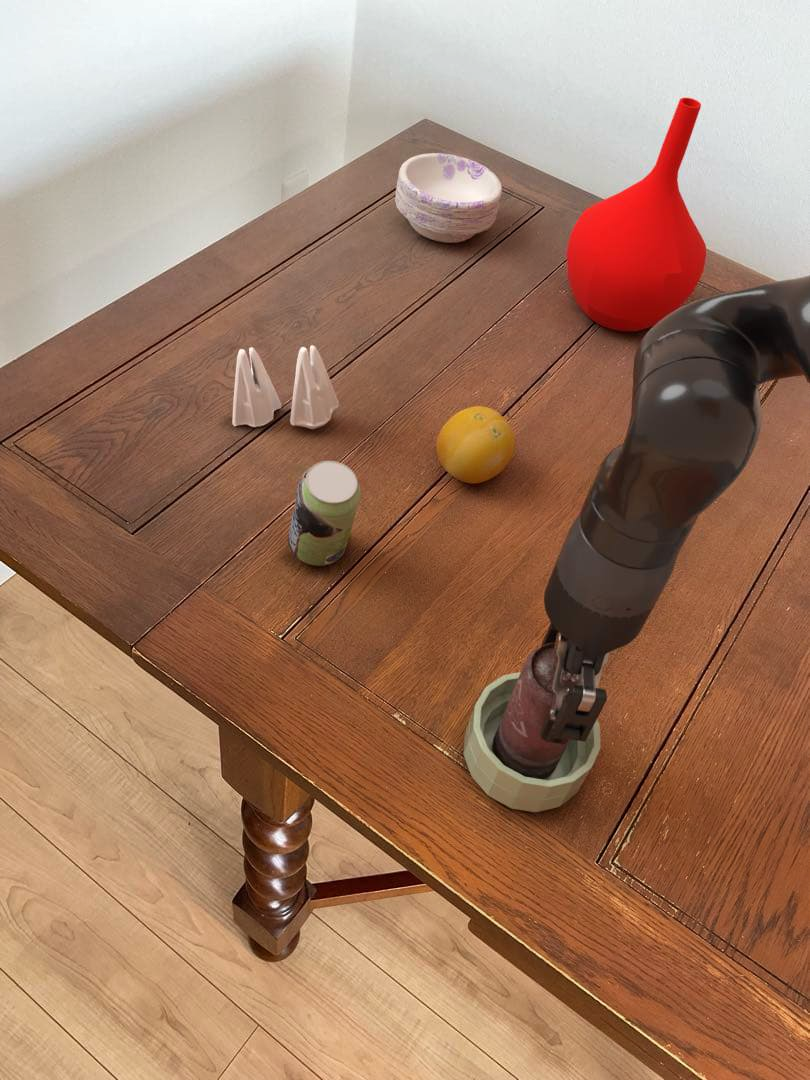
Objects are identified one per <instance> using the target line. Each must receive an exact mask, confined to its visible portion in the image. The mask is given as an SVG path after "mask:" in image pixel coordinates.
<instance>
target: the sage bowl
mask: <svg viewBox="0 0 810 1080" xmlns="http://www.w3.org/2000/svg"><path fill="white" fill-rule="evenodd" d="M520 673H521V671H518V672H513V673H508V674H503V675H501V676H500V677H499V678H497V679H495V680H494V681H492V682H491V683H490V684H488V685H487V686H485V687H484V689H483V690H482V692H481V694H480V696H479V697H478V699H477V701H476V702H475V704H474V707H473V710H472V712H471V715H470V718H469V721H468V723H467V725H466V729H465V731H464V738H463V757H464V760H465V763H466V765H467V768H468V770H469V773H470V776H471V778H472V779H473V780H474V782H475V783H476V784H477V785H478V786H479V787H480V788H481V789H482V791H483V792H484V793H485V795H486V796H488V797H490V798H492V799H493V800H495V801H497V802H499V803H501V804H503V805H504V806H506V807H507V808H509V809H512V810H518V811H524V812H531V813H540V812H543V811H548V810H552V809H556V808H560V807H562V806H563V804H565V803H566V802H567V801H569V800H570V799H571V798H573V797H574V796H575V795H576V794H577V793H578V792H579V791H580V788H581V787H582V785H583V784H584V782H585V780H586V778H587V777H588V775H589V774H590V771H591V770H592V768H593V766H594V764H595V762H596V759H597V758H598V756H599V753H600V751H601V725H600V723H599V721H598V719H597V720H596V722H595V724H594V726H593V728H592V730H591V732H590V734H589V735H588V737H587V739H586V741H585V742H584V741H578V740H570V742H569V744H568V746H567V748H566V750H565V752H564V754H563V755H562V757H561V759H560V761H559V763H558V765H557V767H556V768H555V770H554V772H553V773H552V774H551V775H550V776H548V777H547V778H545V779H543V780H542V779H536V778H530V777H525V776H523V775H521V774H519V773H517V772H515V771H514V770H512V769H510V768H508V767H506V766H504V765H503V764H502V763H501V761H500V760H499V759H498V758H497V757H496V756H495V755H494V754H493V750H492V745H493V738H494V736H495V734H496V731H497V729H498V726H499V724H500V722H501V719H502V717H503V714H504V712H505V709H506V707H507V705H508V702H509V700H510V697H511V695H512V692H513V690H514V688H515V685H516V683H517V680H518V678H519V676H520Z"/></svg>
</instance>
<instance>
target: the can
mask: <svg viewBox="0 0 810 1080" xmlns="http://www.w3.org/2000/svg"><path fill="white" fill-rule="evenodd" d="M554 646H555V643H549V644H546V645H543V646H541V645H540V647H537V648H535V650H533V651H532V652H531V653H529V654H528V656H527V658H526V660H525V661H524V664H523V666H522V668H521V671H520V672H521V673H520V676H519V678H518V680H517V683H516V685H515V688H514V690H513V692H512V695H511V697H510V700H509V702H508V705H507V707H506V709H505V712H504V714H503V717H502V719H501V722H500V724H499V726H498V729H497V731H496V734H495V736H494V738H493V745H492V750H493V754H494V755H495V756H496V757H497V758H498V759H499V760H500V761H501V763H502V764H503V765H504V766H506V767H508V768H510V769H512V770H514V771H515V772H517V773H519V774H521V775H523V776H525V777H530V778H536V779H542V780H543V779H545V778H547V777H548V776H550V775H551V774H552V773H553V772H554V770H555V768H556V767H557V765H558V763H559V761H560V759H561V757H562V755H563V754H564V752H565V750H566V748H567V746H568V744H569V742H570V740H571V739H569V740H568V742H566V744H565V745H559V744H553V743H547V742H546V741H544V740H542V739H541V728H542V726H543V724H544V722H545V720H546V718H547V716H548V714H549V711H550V709H551V706H552V701H553V697H554V692H553V689H552V687H551V684H550V680H551V675H552V671H553V666H554V661H555V657H556V652H555V650H554ZM561 679H563V680H568V681H574V682H578V679H579V674H578V675H577V674H572V673H568V672H566V671H564V670H563V672H562V677H561ZM565 697H566V695H565V696H564V697H563V700H562V703H563V701H564V699H565Z"/></svg>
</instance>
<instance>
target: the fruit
mask: <svg viewBox="0 0 810 1080" xmlns="http://www.w3.org/2000/svg"><path fill="white" fill-rule="evenodd" d="M435 447H436V449H435V450H436V455H437V458H438V461H439V463H440V465H441V466H442V468H443V469H444V470H445V471H446V473H448V474H449V475H450V476H452V477H453V478H455V479H456V480H457V481H459V482H460V481H461V482H462V483H465V484H480V483H484V482H486V481H488V480H491V479H492V478H494V477H497V475H498V474H500V473H501V472H502V471H504V469H505V468H506V467H507V466H508V464H509V463H510V461H511V460H512V458H513V455H514V453H515V449H516V434H515V431H514V429H513V427H512V425H511V424H510V423H509V421H508V420H507V419H506V418H505V417H504V416H502V414H500V413H499V412H498V411H496V410H495V409H493V408H491V407H487V406H482V405H477V406H476V405H475V406H470V407H467V408H465V409H461V410H460V411H458V412H456V413H455V414H453V415H452V416H451V417H450V418H449V419H448V420H447V421H446V422H445V423H444V425H443V426H442V428H441V429H440V431H439V433H438V436H437V440H436V446H435Z"/></svg>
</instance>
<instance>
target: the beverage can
mask: <svg viewBox="0 0 810 1080" xmlns="http://www.w3.org/2000/svg"><path fill="white" fill-rule="evenodd" d="M297 484H298V485H297V489H296V495H295V500H294V505H293V509H292V516H291V521H290V526H289V531H288V539H287V540H288V546H289V549H290V551H291V552H292V554H293V555H294V556H295V557H296V558H297V559H298V560H300V561H301V562H303V563H305V564H307V565H310V566H316V567H322V566H323V567H325V566H328V565H331V564H333V563H335V562H337V561H338V560H340V558H341V557H342V556H343V555H344V553H345V551H346V548H347V544H348V542H349V538H350V535H351V531H352V527H353V524H354V520H355V517H356V515H357V514H356V513H357V510H358V507H359V504H360V499H361V496H362V495H361V493H362V492H361V486H360V483H359V481H358V479H357V477H356V474H355V473H354V471H353V470H352V469H351V468H350V467H349V466H347V465H346V464H344V463H342V462H339V461H336V460H324V461H323V460H322V461H320V462H317V463H315V464H313V465H312V466H311V467H310V468H308V469H307V470H306V471H305V472H304V473H303V474H302V475H301V477H300V479H299V482H298V483H297Z"/></svg>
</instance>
